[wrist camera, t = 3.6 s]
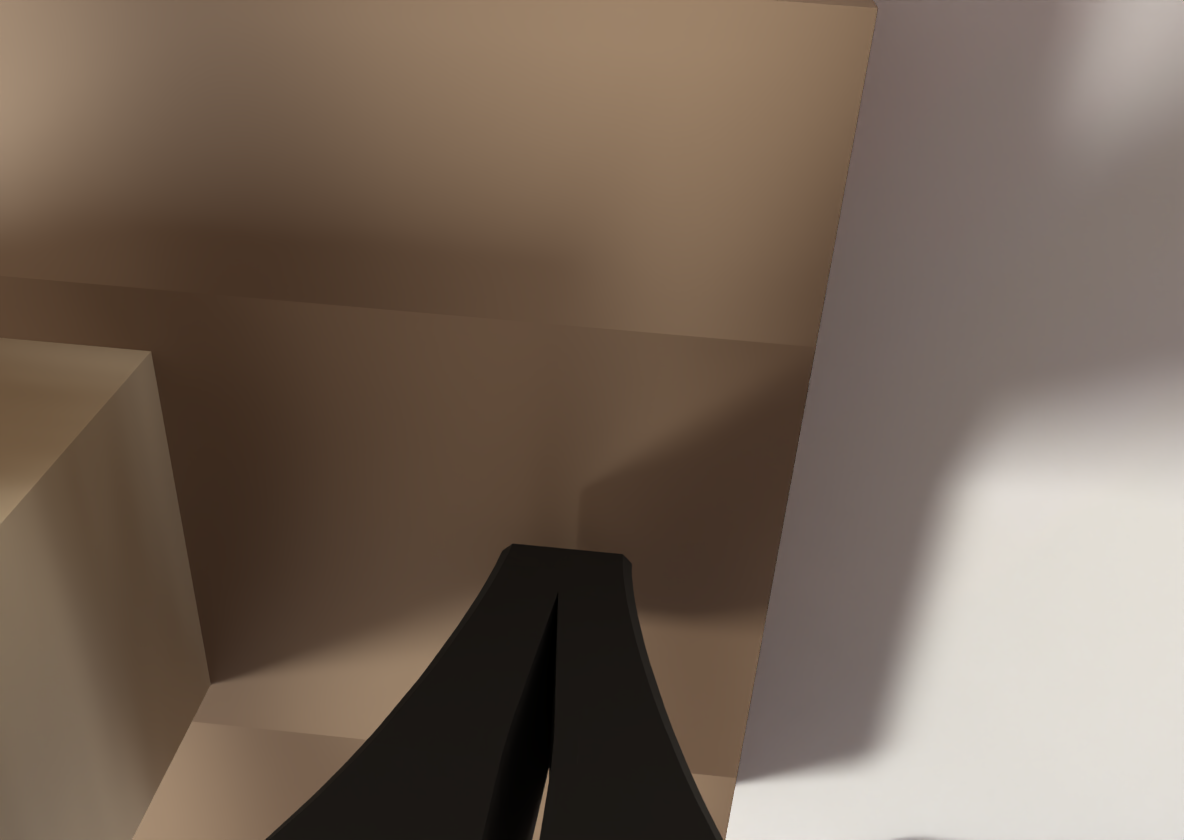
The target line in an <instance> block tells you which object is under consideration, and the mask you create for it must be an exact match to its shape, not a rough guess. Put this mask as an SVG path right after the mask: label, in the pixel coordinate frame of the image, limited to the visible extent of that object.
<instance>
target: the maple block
mask: <svg viewBox="0 0 1184 840" xmlns="http://www.w3.org/2000/svg"><path fill="white" fill-rule="evenodd" d="M210 685H211V683H210V677H209V672H208V666H207V661H206V655H205V649H204V644H203V638H202V633H201V627H200V622H199V616H198V610H197V605H196V599H195V594H194V588H193V582H192V577H191V571H190V566H189V560H188V555H187V549H186V543H185V538H184V532H183V527H182V521H181V516H180V510H179V504H178V499H177V493H176V488H175V482H174V477H173V471H172V465H171V460H170V454H169V449H168V443H167V437H166V432H165V426H164V421H163V415H162V410H161V404H160V398H159V393H158V387H157V382H156V376H155V371H154V365H153V359H152V354H151V351H142V350H131V349H120V348H109V347H98V346H86V345H75V344H64V343H53V342H42V341H31V340H20V339H8V338H0V840H132V838H133V836H134V834H135V832H136V831H137V829H138V827H139V825H140V823H141V821H142V819H143V817H144V815H145V813H146V811H147V809H148V807H149V805H150V803H151V801H152V799H153V797H154V795H155V793H156V791H157V789H158V787H159V785H160V783H161V781H162V779H163V777H164V775H165V774H166V772H167V770H168V768H169V766H170V764H171V762H172V760H173V758H174V756H175V754H176V752H177V750H178V748H179V746H180V744H181V742H182V740H183V738H184V736H185V734H186V732H187V730H188V728H189V726H190V724H191V722H192V720H193V718H194V717H195V715H196V713H197V711H198V709H199V707H200V705H201V703H202V701H203V699H204V697H205V695H206V693H207V691H208V689H209V687H210Z"/></svg>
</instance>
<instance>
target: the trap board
mask: <svg viewBox="0 0 1184 840" xmlns="http://www.w3.org/2000/svg"><path fill="white" fill-rule="evenodd" d="M877 11H878V7H877V6H876V4H875V3H874V1H873V0H0V338H8V339H20V340H31V341H42V342H53V343H64V344H75V345H86V346H98V347H109V348H120V349H131V350H142V351H151V354H152V359H153V365H154V371H155V376H156V382H157V387H158V393H159V398H160V404H161V410H162V415H163V421H164V426H165V432H166V437H167V443H168V449H169V454H170V460H171V465H172V471H173V477H174V482H175V488H176V493H177V499H178V504H179V510H180V516H181V521H182V527H183V532H184V538H185V543H186V549H187V555H188V560H189V566H190V571H191V577H192V582H193V588H194V594H195V599H196V605H197V610H198V616H199V622H200V627H201V633H202V638H203V644H204V649H205V655H206V661H207V666H208V672H209V677H210V683H211V685H210V687H209V689H208V691H207V693H206V695H205V697H204V699H203V701H202V703H201V705H200V707H199V709H198V711H197V713H196V715H195V717H194V718H193V720H192V722H191V724H190V726H189V728H188V730H187V732H186V734H185V736H184V738H183V740H182V742H181V744H180V746H179V748H178V750H177V752H176V754H175V756H174V758H173V760H172V762H171V764H170V766H169V768H168V770H167V772H166V774H165V775H164V777H163V779H162V781H161V783H160V785H159V787H158V789H157V791H156V793H155V795H154V797H153V799H152V801H151V803H150V805H149V807H148V809H147V811H146V813H145V815H144V817H143V819H142V821H141V823H140V825H139V827H138V829H137V831H136V832H135V834H134V836H133V838H132V840H265V839H266V838H267V837H268V836H270V835H271V834H272V833H273V832H274V831H275V830H276V829H277V828H278V827H279V826H280V825H282V824H283V823H284V822H285V821H286V820H287V819H288V818H289V817H290V816H291V815H292V814H294V813H295V812H296V811H297V810H298V809H299V808H300V807H301V806H302V805H303V804H304V803H306V802H307V801H308V800H309V799H310V798H311V797H312V796H313V795H314V794H315V793H316V792H317V791H318V790H319V789H320V788H321V787H322V786H323V785H324V784H325V783H326V782H327V781H328V780H329V779H330V778H331V777H332V776H333V775H334V774H335V773H336V772H337V771H338V770H339V769H340V768H341V767H342V766H343V765H344V764H345V763H346V762H347V761H348V760H349V759H350V758H351V756H352V755H353V754H354V753H355V752H356V751H357V750H358V749H359V748H360V747H361V746H362V745H363V743H364V742H365V741H366V740H367V739H368V738H369V737H370V736H371V735H372V734H373V732H374V731H375V730H376V729H377V728H378V727H379V726H380V724H381V723H382V722H383V721H384V720H385V718H386V717H387V716H388V715H389V714H390V712H391V711H392V710H393V709H394V708H395V706H396V705H397V704H398V703H399V702H400V700H401V699H402V698H403V697H404V696H405V694H406V693H407V692H408V691H409V690H410V688H411V687H412V686H413V685H414V684H415V683H416V681H417V680H418V679H419V677H420V676H421V675H422V674H423V672H424V671H425V670H426V668H427V667H428V666H429V664H430V663H431V662H432V660H433V659H434V658H435V656H436V655H437V653H438V652H439V651H440V649H441V648H442V647H443V645H444V644H445V642H446V641H447V640H448V638H449V637H450V636H451V634H452V633H453V631H454V630H455V629H456V627H457V626H458V624H459V623H460V621H461V620H462V618H463V617H464V615H465V614H466V612H467V611H468V609H469V608H470V606H471V605H472V603H473V602H474V600H475V599H476V597H477V595H478V594H479V592H480V591H481V589H482V587H483V586H484V584H485V582H486V581H487V579H488V577H489V575H490V574H491V572H492V570H493V568H494V566H495V564H496V562H497V560H498V558H499V556H500V554H501V552H502V550H504V549H505V548H507V547H508V546H510V545H511V544H524V545H534V546H545V547H555V548H565V549H576V550H586V551H596V552H607V553H617V554H623V555H624V556H625V557H626V558H627V559H628V560H629V561H630V562H631V563H632V581H633V591H634V597H635V603H636V608H637V614H638V618H639V623H640V627H641V631H642V635H643V639H644V643H645V647H646V650H647V654H648V657H649V661H650V664H651V667H652V670H653V673H654V676H655V679H656V682H657V685H658V688H659V691H660V694H661V697H662V700H663V703H664V706H665V709H666V712H667V715H668V717H669V720H670V723H671V725H672V728H673V731H674V733H675V736H676V738H677V740H678V743H679V745H680V748H681V750H682V753H683V755H684V757H685V760H686V762H687V765H688V767H689V769H690V772H691V774H692V776H693V778H694V781H695V783H696V785H697V787H698V789H699V792H700V794H701V796H702V798H703V800H704V802H705V804H706V806H707V809H708V811H709V813H710V815H711V817H712V818H713V820H714V822H715V824H716V826H717V828H718V830H719V832H720V834H721V836H722V838H723V840H725V838H726V833H727V827H728V822H729V816H730V811H731V806H732V800H733V795H734V789H735V784H736V778H737V773H738V767H739V762H740V757H741V751H742V746H743V740H744V735H745V729H746V724H747V718H748V713H749V708H750V702H751V697H752V691H753V686H754V680H755V675H756V669H757V664H758V659H759V653H760V648H761V642H762V637H763V631H764V626H765V620H766V615H767V610H768V604H769V599H770V593H771V588H772V582H773V577H774V571H775V566H776V561H777V555H778V550H779V544H780V539H781V533H782V528H783V522H784V517H785V512H786V506H787V501H788V495H789V490H790V484H791V479H792V473H793V468H794V463H795V457H796V452H797V446H798V441H799V435H800V430H801V424H802V419H803V414H804V408H805V403H806V397H807V392H808V386H809V381H810V375H811V370H812V365H813V359H814V354H815V348H816V343H817V337H818V332H819V326H820V321H821V315H822V310H823V305H824V299H825V294H826V288H827V283H828V277H829V272H830V266H831V261H832V256H833V250H834V245H835V239H836V234H837V228H838V223H839V217H840V212H841V207H842V201H843V196H844V190H845V185H846V179H847V174H848V168H849V163H850V158H851V152H852V147H853V141H854V136H855V130H856V125H857V119H858V114H859V109H860V103H861V98H862V92H863V87H864V81H865V76H866V70H867V65H868V60H869V54H870V49H871V43H872V38H873V32H874V27H875V21H876V16H877ZM548 784H549V770H548V775H547V779H546V783H545V788H544V792H543V796H542V800H541V805H540V809H539V813H538V817H537V822H536V826H535V830H534V834H533V839H532V840H539V838H540V832H541V826H542V820H543V814H544V808H545V802H546V796H547V790H548Z"/></svg>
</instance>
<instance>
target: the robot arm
mask: <svg viewBox="0 0 1184 840" xmlns="http://www.w3.org/2000/svg"><path fill="white" fill-rule="evenodd" d="M548 770H549V784H548V790H547V796H546V802H545V808H544V814H543V820H542V826H541V832H540V838H539V840H723V838H722V836H721V834H720V832H719V830H718V828H717V826H716V824H715V822H714V820H713V818H712V817H711V815H710V813H709V811H708V809H707V806H706V804H705V802H704V800H703V798H702V796H701V794H700V792H699V789H698V787H697V785H696V783H695V781H694V778H693V776H692V774H691V772H690V769H689V767H688V765H687V762H686V760H685V757H684V755H683V753H682V750H681V748H680V745H679V743H678V740H677V738H676V736H675V733H674V731H673V728H672V725H671V723H670V720H669V717H668V715H667V712H666V709H665V706H664V703H663V700H662V697H661V694H660V691H659V688H658V685H657V682H656V679H655V676H654V673H653V670H652V667H651V664H650V661H649V657H648V654H647V650H646V647H645V643H644V639H643V635H642V631H641V627H640V623H639V618H638V614H637V608H636V603H635V597H634V591H633V581H632V563H631V562H630V561H629V560H628V559H627V558H626V557H625V556H624V555H623V554H617V553H607V552H596V551H586V550H576V549H565V548H555V547H545V546H534V545H524V544H511V545H510V546H508V547H507V548H505V549H504V550H502V552H501V554H500V556H499V558H498V560H497V562H496V564H495V566H494V568H493V570H492V572H491V574H490V575H489V577H488V579H487V581H486V582H485V584H484V586H483V587H482V589H481V591H480V592H479V594H478V595H477V597H476V599H475V600H474V602H473V603H472V605H471V606H470V608H469V609H468V611H467V612H466V614H465V615H464V617H463V618H462V620H461V621H460V623H459V624H458V626H457V627H456V629H455V630H454V631H453V633H452V634H451V636H450V637H449V638H448V640H447V641H446V642H445V644H444V645H443V647H442V648H441V649H440V651H439V652H438V653H437V655H436V656H435V658H434V659H433V660H432V662H431V663H430V664H429V666H428V667H427V668H426V670H425V671H424V672H423V674H422V675H421V676H420V677H419V679H418V680H417V681H416V683H415V684H414V685H413V686H412V687H411V688H410V690H409V691H408V692H407V693H406V694H405V696H404V697H403V698H402V699H401V700H400V702H399V703H398V704H397V705H396V706H395V708H394V709H393V710H392V711H391V712H390V714H389V715H388V716H387V717H386V718H385V720H384V721H383V722H382V723H381V724H380V726H379V727H378V728H377V729H376V730H375V731H374V732H373V734H372V735H371V736H370V737H369V738H368V739H367V740H366V741H365V742H364V743H363V745H362V746H361V747H360V748H359V749H358V750H357V751H356V752H355V753H354V754H353V755H352V756H351V758H350V759H349V760H348V761H347V762H346V763H345V764H344V765H343V766H342V767H341V768H340V769H339V770H338V771H337V772H336V773H335V774H334V775H333V776H332V777H331V778H330V779H329V780H328V781H327V782H326V783H325V784H324V785H323V786H322V787H321V788H320V789H319V790H318V791H317V792H316V793H315V794H314V795H313V796H312V797H311V798H310V799H309V800H308V801H307V802H306V803H304V804H303V805H302V806H301V807H300V808H299V809H298V810H297V811H296V812H295V813H294V814H292V815H291V816H290V817H289V818H288V819H287V820H286V821H285V822H284V823H283V824H282V825H280V826H279V827H278V828H277V829H276V830H275V831H274V832H273V833H272V834H271V835H270V836H268V837H267V838H266V839H265V840H532V839H533V834H534V830H535V826H536V822H537V817H538V813H539V809H540V805H541V800H542V796H543V792H544V788H545V783H546V779H547V775H548Z"/></svg>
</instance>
